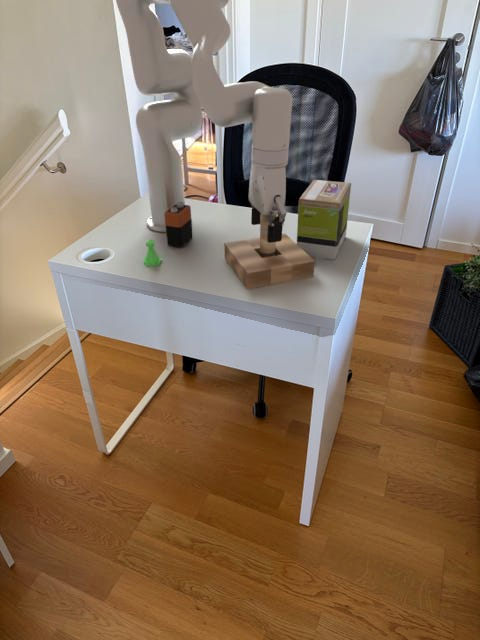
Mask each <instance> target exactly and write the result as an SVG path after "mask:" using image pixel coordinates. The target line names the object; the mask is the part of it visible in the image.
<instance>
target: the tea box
mask: <svg viewBox="0 0 480 640" xmlns="http://www.w3.org/2000/svg"><path fill="white" fill-rule="evenodd" d="M351 189H352V182H343V181H331V180H322V179H321V180H320V179H313V180H312V182H311V183H310V184H309V185H308V187H307V188H306V189H305V191H304V192H303V193H302V195H301V196H300V197H299V199H298V206H297V207H298V209H297V214H298V215H297V231H296V244H297V245H298V246H299V247H300V248H301V249H302V250H304V251H305V252H306V253H307V254H308V255H309V256H310V257H311V258H318V259H323V260H331V261H332V260H333V261H334V260H336V258H337V255H338V253H339V251H340V250H341V247H342V245H343V243H344V241H345V238H346V236H347V229H348V219H349V209H350V199H351V191H352V190H351Z"/></svg>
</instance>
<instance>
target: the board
mask: <svg viewBox="0 0 480 640" xmlns="http://www.w3.org/2000/svg"><path fill="white" fill-rule="evenodd" d="M223 248H224V250H223V251H224V259H225V261H226V262H227V263H228V265H229V266H230V267H231V269H232V270H233V272H234V273H235V274H236V276H237V277H238V279H239V280H240V282H241V283H242V284H243V285H244V286H245V288H246V289H247V290H250V289H257V288H261V287H265V286H272V285H277V284H282V283H288V282H294V281H298V280H304V279H309V278H313V277H314V275H315V265H316V264H315V263H316V261H315V259H313V257H310V256H309V255H308V254H307V253H306V252H305V251H304V250H302V249H301V248H300V247H299V246H298V245H297V242H295V241H294V240H293V239H292V238H291V237H290V236H288V234H286V233H282V240H281V241H279V242H276V253H275V256H271V257H265V258H261V256H260V252H259V249H260V237H254V238H249V239H243V240H242V239H241V240H236V241H235V240H234V241H229V242H224V243H223Z"/></svg>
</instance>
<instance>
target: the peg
mask: <svg viewBox="0 0 480 640" xmlns="http://www.w3.org/2000/svg"><path fill="white" fill-rule="evenodd" d="M272 216H273V220H274V219H275V217H277V216H278V214H276V215H272ZM259 225H260V226H259V238H260V249H259V252H260V256H261V258H265V257H271V256H275V253H276V242H272V243H268V241H267V235H268V225H270V223H269V218H268V214H266V215H263V214H260V224H259Z"/></svg>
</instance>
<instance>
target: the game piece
mask: <svg viewBox="0 0 480 640" xmlns="http://www.w3.org/2000/svg"><path fill="white" fill-rule="evenodd" d="M145 247H147V248H148V249H147V252H146V256H145V257H144V259H143V265H145V266H146V267H157V266H159V265H161V263H162V258H161V257H160V256H159V255H158V254H157V252H156V249H154V247H156V241H155V240H152V239H147V240H146V241H145Z"/></svg>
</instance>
